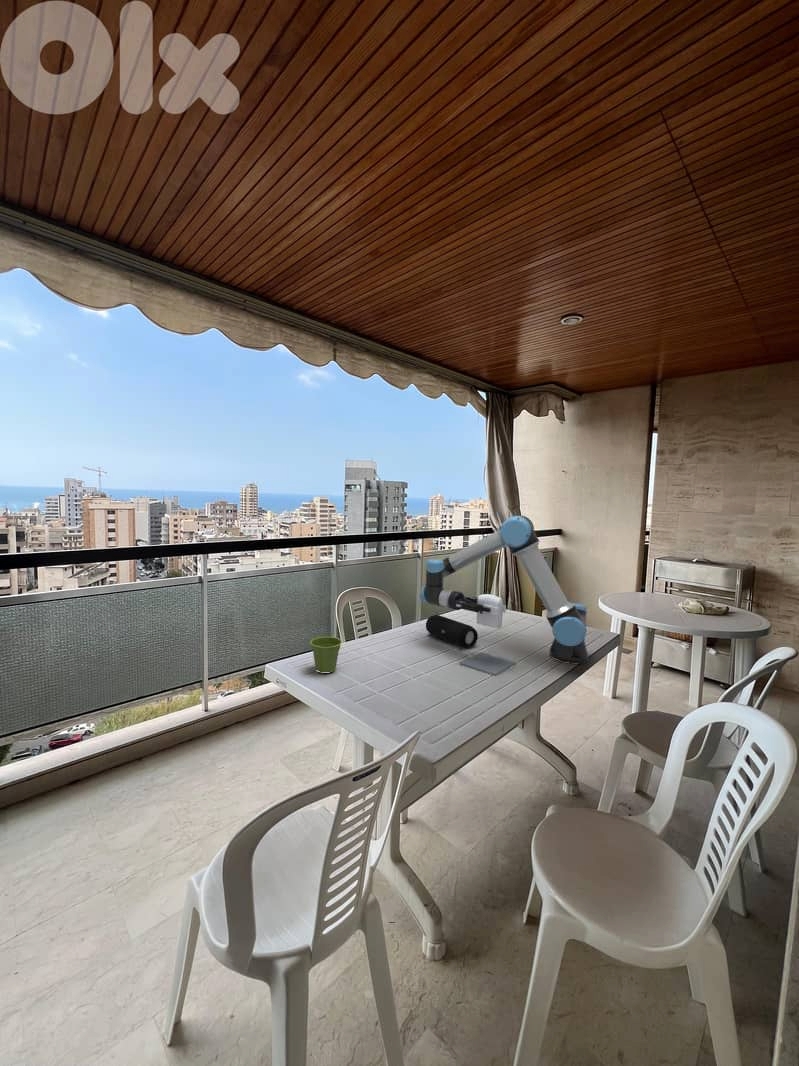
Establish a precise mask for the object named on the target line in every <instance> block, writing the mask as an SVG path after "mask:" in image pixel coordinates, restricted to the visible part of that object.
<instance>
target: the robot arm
mask: <svg viewBox="0 0 799 1066" xmlns="http://www.w3.org/2000/svg"><path fill="white" fill-rule="evenodd" d="M534 527H535V526H534V523H533V521H532V520H531V519H530V518H528V517H527V516H524V515H513V516H509V517H507V518H506V519H505V520H504V521H503V522H502V523H501V525H500V526H498V528H497V531H494V532H493V533H490V534H489V535H488V536H485V537H483V538H482V539H480V540H477V541H476V542H474V543H472V544H471V545H468V546H466V547H464V548H463V549H461V550H459V551H457V552H455V553H452V554H451V555H450V556H447V557H446V558H443V559H440V558H439V559H438V558H431V559H428V560H426V567H425V585H423V586H422V587H421V588H420V591H419V598H420V601H422V602H423V603H426V604H429V605H433V606H439V607H443V608H444V609H452V610H456V611H460V610H464V611H469V612H473V613H476V614H477V613H478V612H480V614H483V612H485V613H490V614H494V615H499V608H497V607H492V606H488V605H484V607H483V605H480V604H477V602H478V597H475V596H473V597H469V596H465V594H464V593H463V592H461V591H456V590H452V589H447V588H444V579H445V578H446V577H448V576H450V575H453V574H454V573H457V572H459V570H460V571H461V569H464V568H466V567H468V566H470V565H473V563H476V562H478V561H480V560H481V559H483V558H486V557H488V556H489V555H491V554H493V553H496V552H498V551H500V550H501V549H503V548H505V547H507V548H508V549H509V551H510V553H511V555H513V556H515V557H517V558H518V559H519V561H520V564H521V565H522V567H523V569H524V570H525V572H526V574H527V577H528V578H529V580H530V581H531V583H532V585H533V586H534V589H535V591H536V593H537V594H538V596H539V598H540V600H541V601H542V603H543V605H544V607H545V609H546V611H547V612H546V615H545V618H546V619H547V622H548V624H549V625H550V627H551V630H552V635H553V637H554V639H553V641H552V643H551V645H550V648H549V653H548V655H549V654H550V655H551V656H552V657H553V658H555V659H558V660H560V661H563V662H569V663H579V664H578V665H583V664H586V663H588V661H589V654H588V653H589V652H588V649H587V646H586V642H585V638H586V636H587V633H588V632H587V631H588V630H587V613H588V612H587V607H586V605H585V604H581V603H574V602H570V601H568V598H567V597H566V595H565V594H564V592H563V590H562V588H561V586H560V584H559V582H558V581H557V578H556V577H555V576H554V573H553V572H552V570H551V568H550V566H549V565H548V563H547V561H546V559H545V557H544V556H543V553H542V552H541V550H540V548H539V544H540V540H539V538H538V536H537V534H536V532H535V528H534ZM505 613H507V605H504V604H503V613H502V614H505ZM550 655H549V656H550ZM553 658H552V659H553ZM560 661H559V662H560ZM563 662H562V663H563Z"/></svg>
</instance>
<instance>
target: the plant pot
mask: <svg viewBox="0 0 799 1066" xmlns="http://www.w3.org/2000/svg"><path fill="white" fill-rule="evenodd" d="M342 643H343V640H342V639H340V638H338V637H335V636H320V637H316V638H313V639H311V640H310V641H309V644H310V646H311V650H312V653H313V660H314V667H315V671H316V670H318V671H320V672H331V671H334V670H335V671H336V668H337V663H338V658H339V657H338V656H339V651H340V649H341V645H342ZM335 671H334V672H335Z"/></svg>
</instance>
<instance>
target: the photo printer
mask: <svg viewBox="0 0 799 1066" xmlns="http://www.w3.org/2000/svg"><path fill="white" fill-rule="evenodd" d="M477 598H478V602H477V604H480V605H483V607H484V605H488V606H492V607H497V608H499V615H494V614H490V613H485V612H483V614H480V612H478V613H477V612H476V624H477V625H480V626H484V627H489V628H494V629H499V630H500V629H501V628H502V626H503V614H504V613H503V605H504V600H503V599H502V598H501V597H500V596H497V595H494V594H487V593H484V594H480V595H478V597H477Z"/></svg>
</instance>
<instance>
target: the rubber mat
mask: <svg viewBox="0 0 799 1066" xmlns="http://www.w3.org/2000/svg"><path fill="white" fill-rule="evenodd" d="M515 664H516V665H517V662H515V661H511V660H509V659H505V658H502V657H498V656H494V655H491V654H488V653H484V652H479V653H477V654H475V655H473V656H471V657H468V658H466V659H464V660H462V661H460V662H459V665H460V666H462V667H466V668H468V667H469V669H471V668H472V670H474V669H475V671H478V672H481V671H482V672H481V673H484V672H485V673H484V674H487V673H488V674H487V675H490V674H491V675H490V676H493V675H494V676H493V677H497V676H498V674H499V673H500V674H502V673H503V671H504V672H506V671H507V670H509V669H510V667H511V666H513V665H514V666H516V665H515ZM514 666H513V667H514ZM508 668H509V669H508ZM511 668H512V667H511ZM506 669H507V670H506ZM505 670H506V671H505ZM501 672H502V673H501ZM500 674H499V675H500ZM496 675H497V676H496Z"/></svg>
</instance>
